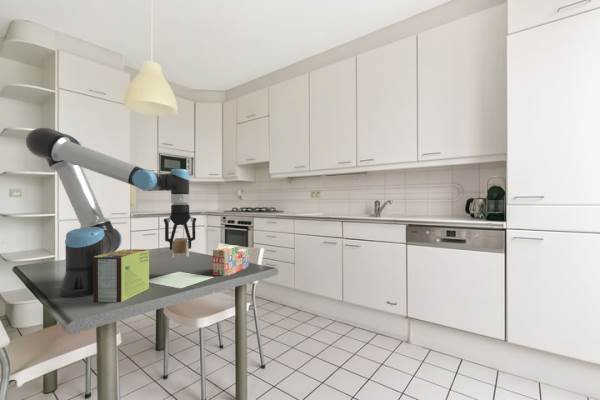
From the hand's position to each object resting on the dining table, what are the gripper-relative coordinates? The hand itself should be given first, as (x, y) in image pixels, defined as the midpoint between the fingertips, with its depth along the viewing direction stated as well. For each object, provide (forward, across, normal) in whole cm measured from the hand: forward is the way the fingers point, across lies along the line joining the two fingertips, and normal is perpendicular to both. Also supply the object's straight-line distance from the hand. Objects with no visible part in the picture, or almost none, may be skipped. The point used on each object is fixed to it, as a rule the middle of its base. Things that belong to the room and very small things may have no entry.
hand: (180, 256), depth 130 cm
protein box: (+9, -18, -20) cm, 29 cm away
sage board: (+9, 0, -6) cm, 11 cm away
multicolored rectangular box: (+10, +23, +4) cm, 25 cm away
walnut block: (-5, 0, -7) cm, 9 cm away
